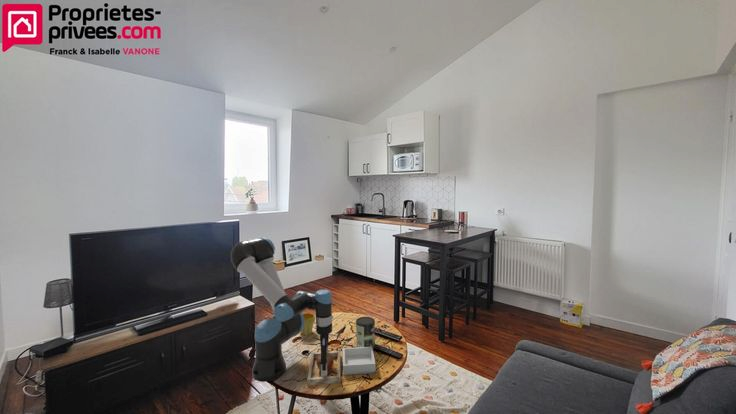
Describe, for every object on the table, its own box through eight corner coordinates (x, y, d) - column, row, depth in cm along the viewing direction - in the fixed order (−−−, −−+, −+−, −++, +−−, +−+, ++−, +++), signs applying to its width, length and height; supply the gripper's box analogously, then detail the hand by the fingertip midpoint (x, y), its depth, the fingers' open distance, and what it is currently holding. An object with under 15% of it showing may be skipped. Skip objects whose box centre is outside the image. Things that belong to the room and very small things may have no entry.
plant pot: (306, 326, 185) (306, 311, 184) (318, 331, 179) (318, 315, 178) (293, 333, 176) (293, 317, 176) (305, 338, 170) (305, 321, 170)
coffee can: (376, 341, 166) (376, 317, 165) (373, 351, 156) (372, 325, 155) (358, 339, 168) (358, 315, 167) (354, 349, 158) (353, 323, 157)
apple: (313, 372, 139) (312, 355, 138) (322, 362, 146) (322, 347, 146) (327, 376, 136) (327, 359, 135) (336, 366, 143) (336, 350, 142)
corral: (307, 385, 130) (307, 379, 130) (311, 357, 151) (311, 352, 151) (340, 382, 131) (340, 377, 131) (340, 355, 152) (340, 350, 152)
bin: (343, 375, 136) (343, 365, 136) (342, 356, 151) (342, 348, 151) (375, 372, 138) (375, 363, 137) (372, 354, 153) (371, 346, 152)
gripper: (331, 336, 127) (332, 383, 129) (332, 312, 152) (333, 352, 154) (313, 337, 127) (314, 384, 128) (318, 312, 152) (318, 353, 153)
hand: (325, 367), depth 141 cm, fingers open, 13 cm apart
